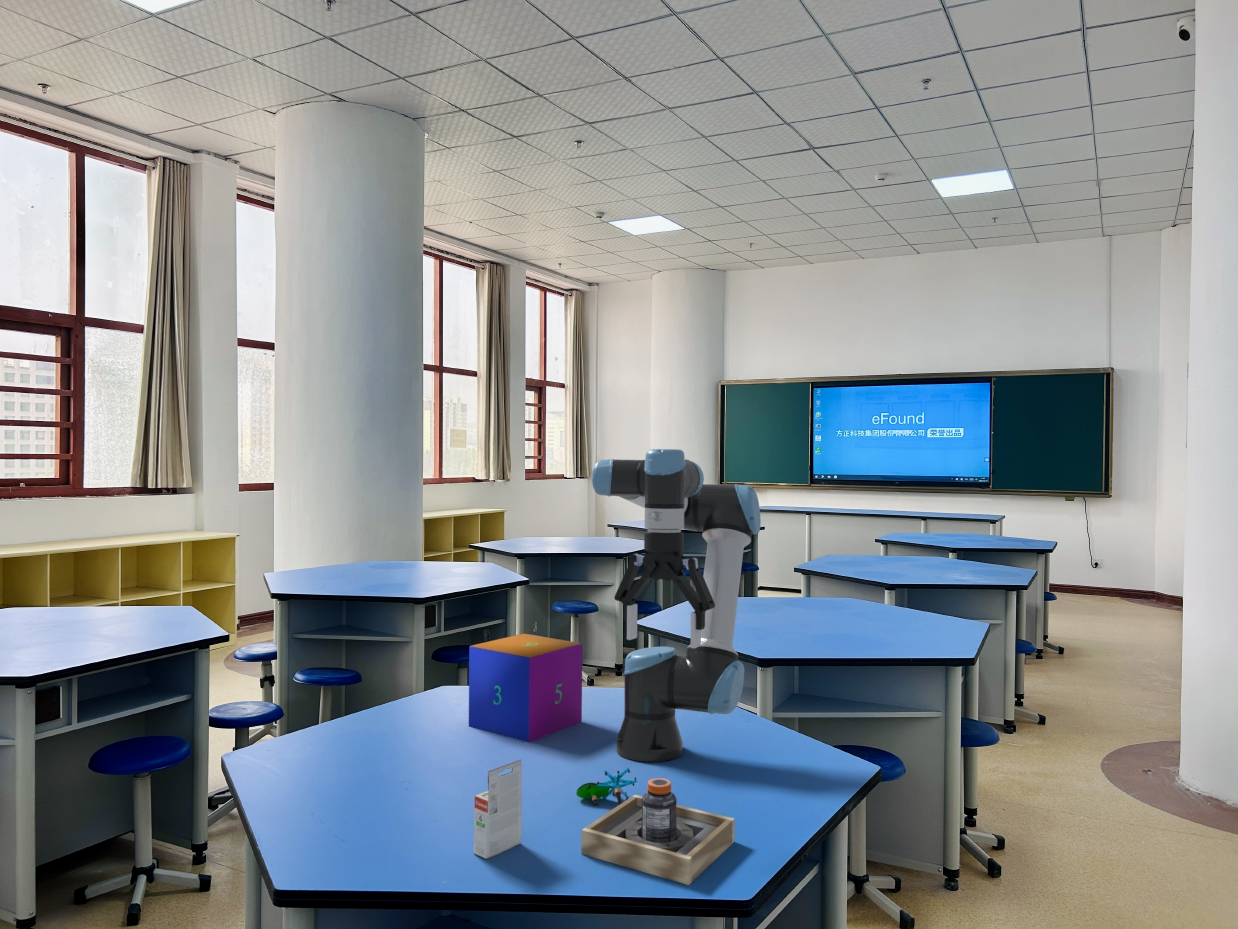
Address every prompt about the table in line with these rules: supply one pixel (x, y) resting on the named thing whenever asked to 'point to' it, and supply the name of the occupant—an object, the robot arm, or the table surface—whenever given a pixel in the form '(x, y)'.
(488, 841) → the ink box
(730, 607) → the robot arm
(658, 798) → the pill bottle
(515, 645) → the cube
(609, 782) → the stick construction toy
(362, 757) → the table surface
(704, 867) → the bore box
